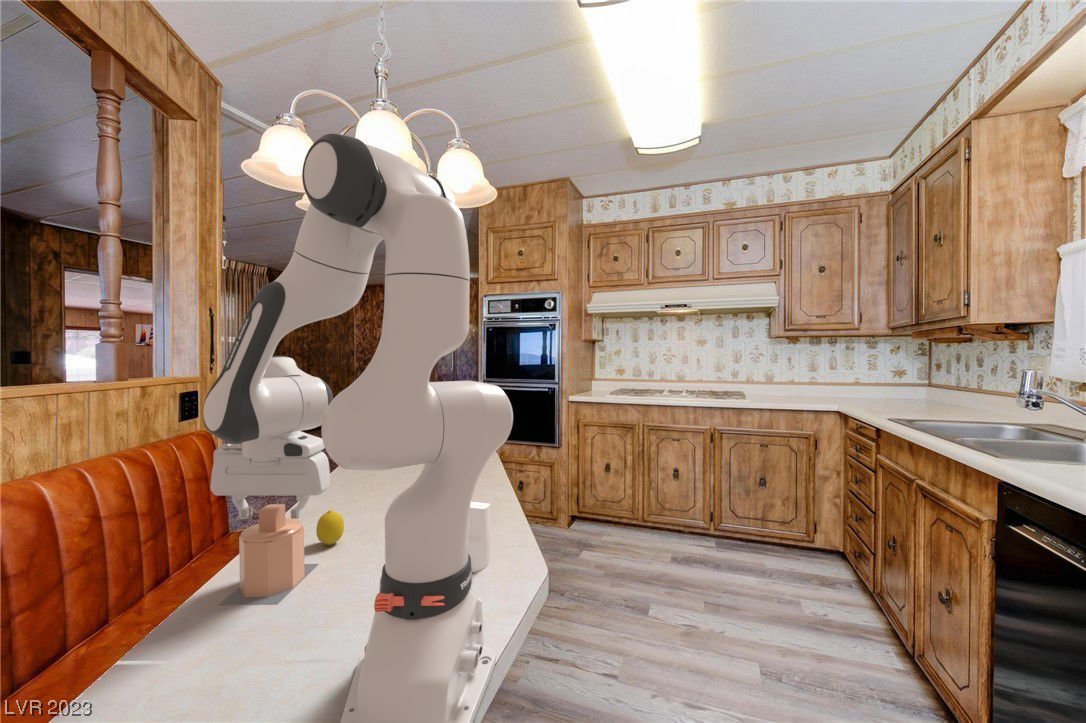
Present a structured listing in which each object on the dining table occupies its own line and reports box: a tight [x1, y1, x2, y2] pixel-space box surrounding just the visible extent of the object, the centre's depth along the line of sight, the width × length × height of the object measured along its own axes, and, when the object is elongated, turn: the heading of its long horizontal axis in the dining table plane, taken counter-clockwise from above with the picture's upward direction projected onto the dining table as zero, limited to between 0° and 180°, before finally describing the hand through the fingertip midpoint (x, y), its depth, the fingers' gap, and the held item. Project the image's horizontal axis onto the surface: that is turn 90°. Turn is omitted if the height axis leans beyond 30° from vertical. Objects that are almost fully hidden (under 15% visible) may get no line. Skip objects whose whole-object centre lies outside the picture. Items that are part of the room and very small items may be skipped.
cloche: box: [238, 503, 305, 597], centre depth 79 cm, size 10×10×14 cm
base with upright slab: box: [468, 501, 491, 573], centre depth 88 cm, size 9×9×12 cm
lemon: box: [315, 509, 345, 546], centre depth 95 cm, size 6×6×8 cm
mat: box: [217, 563, 320, 606], centre depth 79 cm, size 14×10×1 cm
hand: (271, 517), depth 79 cm, fingers open, 8 cm apart
